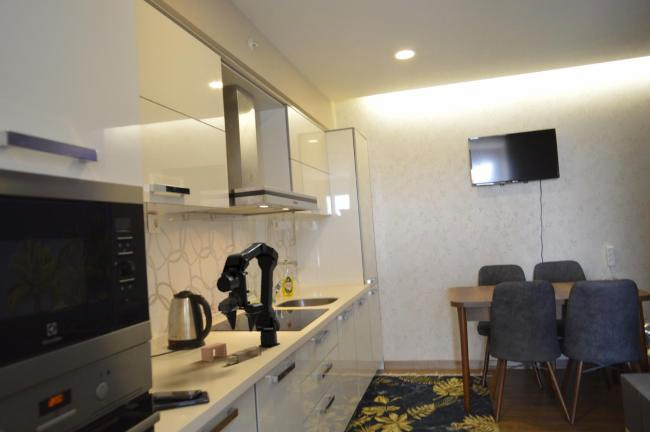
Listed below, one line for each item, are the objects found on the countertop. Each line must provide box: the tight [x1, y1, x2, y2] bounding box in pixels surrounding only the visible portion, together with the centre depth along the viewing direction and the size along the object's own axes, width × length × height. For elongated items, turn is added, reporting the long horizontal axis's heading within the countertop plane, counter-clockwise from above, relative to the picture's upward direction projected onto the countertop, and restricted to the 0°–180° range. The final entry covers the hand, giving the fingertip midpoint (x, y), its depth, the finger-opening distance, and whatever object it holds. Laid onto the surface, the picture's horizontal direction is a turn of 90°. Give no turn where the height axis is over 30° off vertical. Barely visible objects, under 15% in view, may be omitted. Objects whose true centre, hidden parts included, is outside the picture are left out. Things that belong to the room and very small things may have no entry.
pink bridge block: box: [200, 342, 228, 362], centre depth 179 cm, size 8×5×5 cm, turn 144°
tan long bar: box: [226, 345, 262, 365], centre depth 174 cm, size 15×3×3 cm, turn 144°
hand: (242, 330), depth 175 cm, fingers open, 9 cm apart
